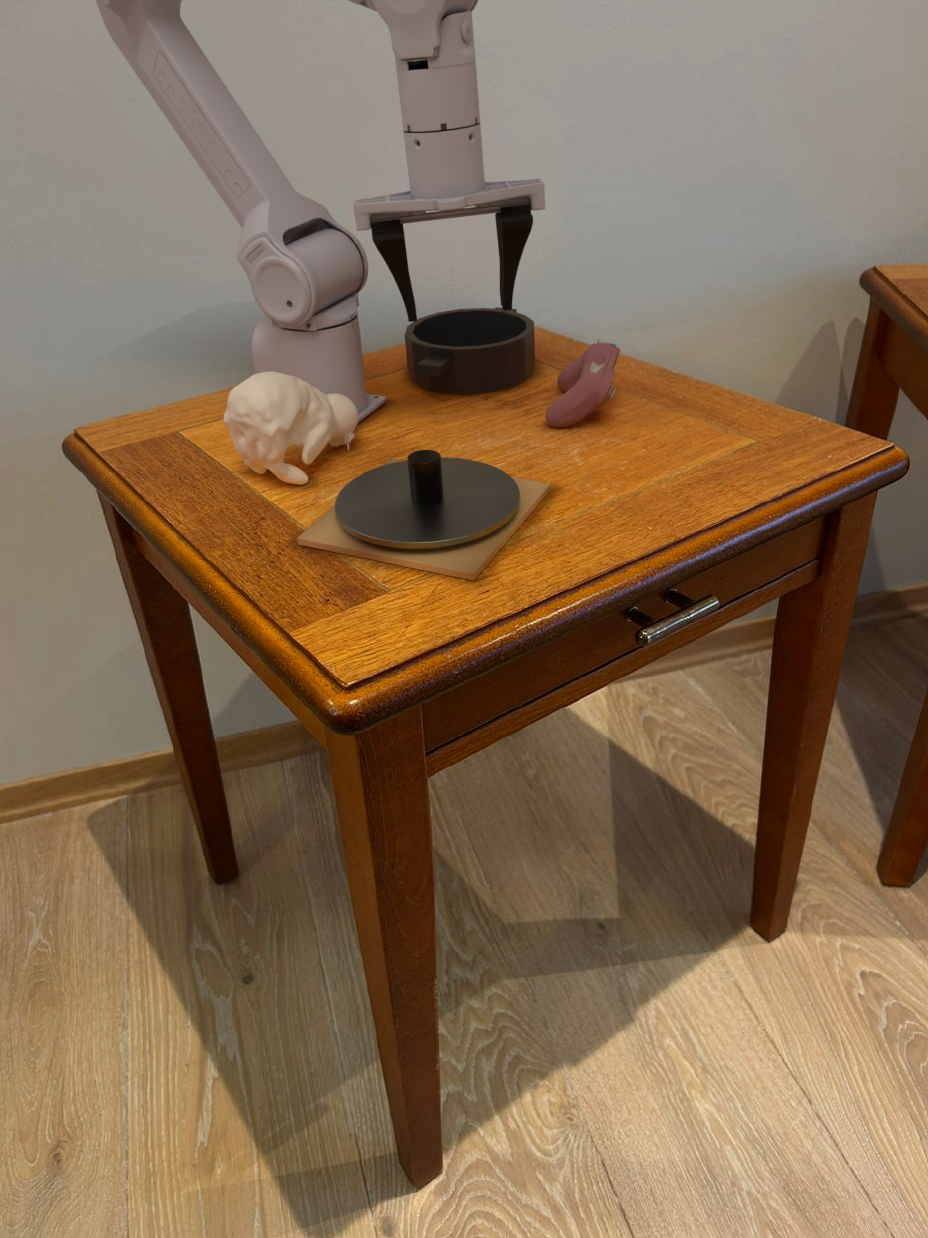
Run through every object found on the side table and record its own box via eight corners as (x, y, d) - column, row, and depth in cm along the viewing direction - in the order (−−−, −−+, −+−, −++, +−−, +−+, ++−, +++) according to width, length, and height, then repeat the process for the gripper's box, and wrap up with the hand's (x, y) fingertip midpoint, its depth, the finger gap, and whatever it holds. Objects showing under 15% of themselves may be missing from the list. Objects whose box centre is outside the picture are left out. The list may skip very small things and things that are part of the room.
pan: (372, 395, 93) (367, 350, 90) (454, 337, 106) (452, 296, 104) (492, 411, 88) (490, 364, 86) (562, 348, 101) (562, 305, 99)
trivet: (297, 544, 70) (296, 537, 69) (391, 465, 80) (391, 458, 79) (474, 581, 64) (473, 573, 64) (550, 490, 74) (550, 483, 74)
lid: (300, 536, 69) (291, 482, 67) (393, 459, 79) (387, 409, 77) (472, 571, 64) (468, 514, 62) (547, 484, 74) (547, 432, 72)
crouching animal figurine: (209, 375, 74) (320, 344, 82) (222, 480, 78) (327, 440, 87) (266, 390, 71) (376, 356, 79) (276, 499, 75) (380, 456, 83)
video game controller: (586, 448, 84) (626, 379, 80) (539, 424, 84) (577, 354, 80) (596, 404, 92) (633, 340, 88) (554, 382, 92) (588, 317, 88)
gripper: (342, 144, 68) (370, 337, 75) (547, 121, 68) (555, 315, 75) (344, 133, 74) (371, 312, 81) (533, 111, 74) (542, 292, 81)
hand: (459, 312), depth 79 cm, fingers open, 7 cm apart
